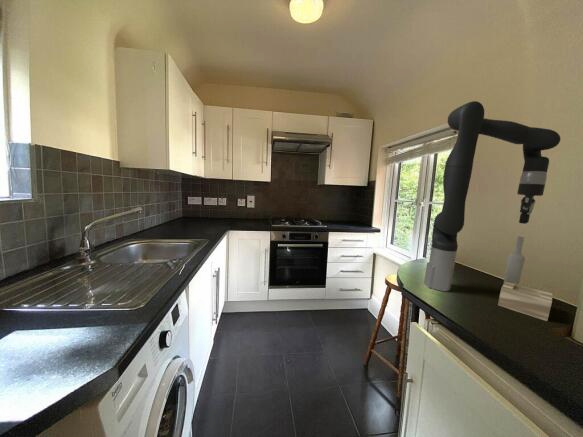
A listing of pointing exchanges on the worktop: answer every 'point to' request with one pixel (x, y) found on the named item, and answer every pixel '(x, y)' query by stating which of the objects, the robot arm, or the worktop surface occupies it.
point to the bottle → (515, 263)
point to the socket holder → (526, 300)
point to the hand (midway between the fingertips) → (523, 222)
